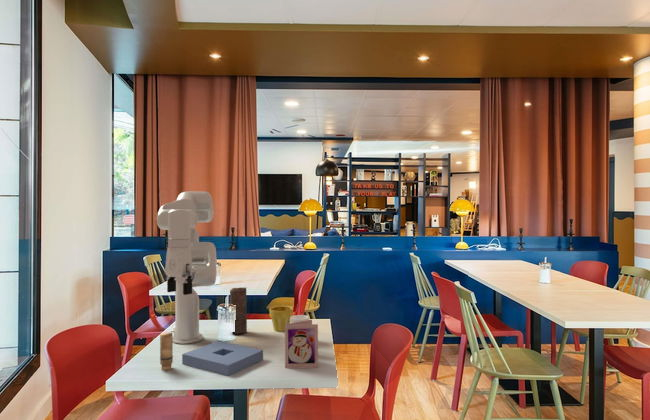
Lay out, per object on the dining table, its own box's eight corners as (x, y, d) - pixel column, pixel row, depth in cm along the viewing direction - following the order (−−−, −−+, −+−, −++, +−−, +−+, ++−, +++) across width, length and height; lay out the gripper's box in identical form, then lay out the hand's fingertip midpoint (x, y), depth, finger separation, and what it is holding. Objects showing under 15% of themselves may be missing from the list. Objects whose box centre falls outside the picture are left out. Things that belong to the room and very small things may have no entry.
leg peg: (157, 369, 152) (157, 334, 152) (167, 365, 156) (167, 331, 156) (165, 371, 150) (165, 336, 150) (175, 367, 154) (175, 333, 154)
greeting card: (284, 368, 153) (284, 325, 153) (286, 361, 160) (286, 319, 160) (318, 368, 153) (317, 324, 153) (317, 360, 160) (317, 319, 160)
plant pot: (268, 333, 196) (268, 311, 196) (271, 326, 206) (270, 305, 206) (291, 332, 196) (291, 310, 196) (293, 326, 206) (293, 305, 206)
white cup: (295, 345, 178) (295, 320, 178) (286, 340, 185) (286, 316, 185) (312, 342, 182) (312, 318, 182) (303, 337, 189) (303, 314, 189)
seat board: (182, 363, 158) (182, 354, 158) (218, 349, 173) (218, 340, 173) (228, 375, 146) (228, 365, 146) (263, 359, 162) (263, 350, 162)
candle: (242, 336, 191) (242, 289, 191) (226, 335, 193) (226, 289, 193) (249, 331, 199) (249, 286, 199) (234, 330, 200) (233, 286, 200)
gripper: (156, 244, 159) (156, 292, 159) (184, 245, 148) (184, 297, 148) (174, 243, 165) (175, 289, 164) (203, 244, 154) (203, 293, 154)
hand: (179, 293), depth 156 cm, fingers open, 9 cm apart
